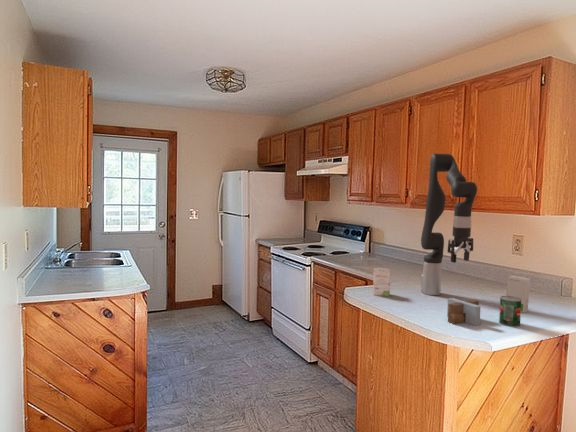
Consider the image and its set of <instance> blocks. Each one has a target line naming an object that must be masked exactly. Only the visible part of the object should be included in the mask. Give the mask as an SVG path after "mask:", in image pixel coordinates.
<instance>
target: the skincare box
mask: <svg viewBox="0 0 576 432" xmlns="http://www.w3.org/2000/svg"><path fill="white" fill-rule="evenodd" d="M506 283H507V284H506V285H507V286H506V295H505V296H513V297H517V298H520V299H521V314H525V313H526V312H528V310H529V300H530V289H531V288H530V287H531V278H528V277H523V276H517V275H510V276H508V277H507V282H506Z"/></svg>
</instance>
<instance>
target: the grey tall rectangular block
mask: <svg viewBox="0 0 576 432" xmlns="http://www.w3.org/2000/svg"><path fill="white" fill-rule="evenodd" d="M465 301H466V300H461V299H457V298H453V297H450V298H447V305H448V304H451V303H456V302H459V303H462V304H463V313H466V317H465V322H464V323H466V324H468V325H470V326H471V325H472V326H473V327H474V326H475V327H476V326H480V325H481V305H480V304H479V305H475V304H472V303H468V302H465ZM446 312H447V314H446V316H447V317H448V308H447V311H446Z"/></svg>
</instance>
